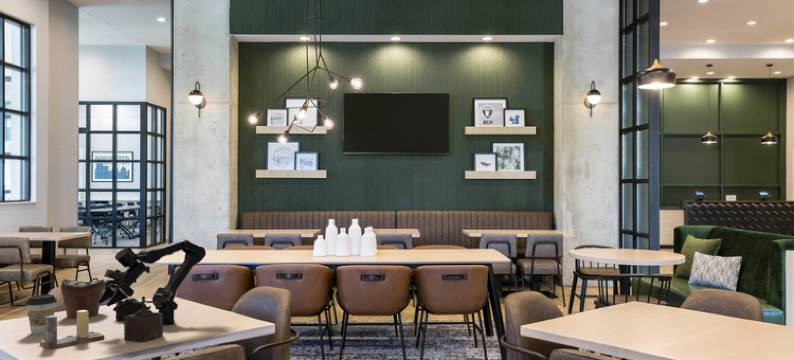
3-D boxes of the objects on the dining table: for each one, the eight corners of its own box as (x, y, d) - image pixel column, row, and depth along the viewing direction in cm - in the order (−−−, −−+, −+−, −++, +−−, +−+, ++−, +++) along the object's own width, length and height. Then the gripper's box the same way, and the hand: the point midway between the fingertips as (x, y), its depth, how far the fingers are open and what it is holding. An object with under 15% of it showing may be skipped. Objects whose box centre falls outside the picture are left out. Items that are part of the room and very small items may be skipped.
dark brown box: (144, 342, 215) (143, 296, 215) (123, 340, 219) (123, 294, 220) (174, 333, 229) (174, 289, 230) (154, 330, 234) (154, 287, 234)
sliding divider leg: (82, 333, 224) (81, 308, 224) (88, 336, 219) (88, 311, 219) (73, 335, 222) (73, 309, 222) (80, 338, 216) (80, 312, 217)
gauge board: (94, 334, 229) (94, 306, 229) (104, 339, 221) (104, 309, 222) (40, 344, 214) (39, 314, 215) (48, 349, 207) (48, 318, 207)
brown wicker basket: (114, 312, 270) (114, 275, 270) (72, 321, 253) (71, 282, 254) (94, 309, 280) (93, 273, 280) (52, 318, 263) (51, 279, 263)
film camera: (158, 315, 263) (158, 294, 263) (148, 322, 251) (147, 299, 251) (120, 316, 262) (120, 295, 263) (107, 323, 250) (107, 300, 250)
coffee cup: (23, 337, 226) (23, 300, 227) (27, 331, 237) (27, 295, 237) (56, 333, 232) (56, 297, 232) (58, 327, 242) (58, 293, 242)
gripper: (109, 260, 236) (80, 289, 228) (126, 263, 223) (96, 294, 215) (128, 277, 242) (100, 306, 233) (146, 281, 229) (117, 312, 220)
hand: (103, 304), depth 225 cm, fingers open, 9 cm apart
